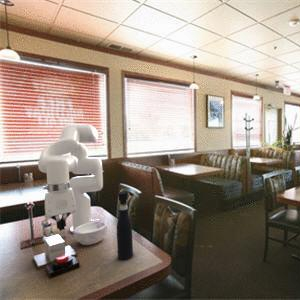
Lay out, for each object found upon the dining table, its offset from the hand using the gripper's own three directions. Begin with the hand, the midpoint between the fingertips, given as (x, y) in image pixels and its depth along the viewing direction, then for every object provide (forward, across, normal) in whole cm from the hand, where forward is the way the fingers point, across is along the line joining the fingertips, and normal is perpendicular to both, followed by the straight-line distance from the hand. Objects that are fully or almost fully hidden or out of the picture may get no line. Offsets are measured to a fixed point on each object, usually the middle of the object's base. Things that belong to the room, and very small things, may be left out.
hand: (61, 229), depth 99 cm
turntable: (+16, -1, +10) cm, 19 cm away
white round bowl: (+17, +16, +16) cm, 28 cm away
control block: (+16, -1, -3) cm, 16 cm away
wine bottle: (+16, +21, -13) cm, 30 cm away
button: (+12, -1, -3) cm, 13 cm away
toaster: (+15, -1, +10) cm, 18 cm away
